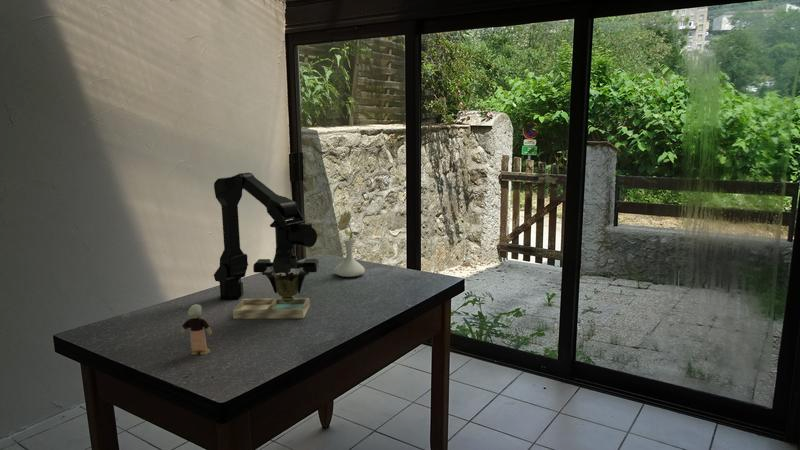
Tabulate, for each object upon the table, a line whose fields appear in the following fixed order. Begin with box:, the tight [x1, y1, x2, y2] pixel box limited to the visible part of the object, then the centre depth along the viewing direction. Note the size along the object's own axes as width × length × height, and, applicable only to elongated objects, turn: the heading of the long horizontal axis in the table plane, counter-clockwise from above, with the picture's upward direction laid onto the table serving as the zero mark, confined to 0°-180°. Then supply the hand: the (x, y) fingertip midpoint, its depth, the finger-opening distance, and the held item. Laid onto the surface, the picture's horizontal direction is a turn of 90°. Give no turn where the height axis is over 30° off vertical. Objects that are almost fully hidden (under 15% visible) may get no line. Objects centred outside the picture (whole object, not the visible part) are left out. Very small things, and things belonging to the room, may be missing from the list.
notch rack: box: [232, 297, 311, 320], centre depth 171 cm, size 21×11×2 cm, turn 90°
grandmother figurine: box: [180, 303, 213, 356], centre depth 141 cm, size 8×4×13 cm, turn 98°
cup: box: [274, 271, 299, 302], centre depth 170 cm, size 8×7×8 cm
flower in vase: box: [334, 210, 366, 278], centre depth 208 cm, size 13×11×25 cm
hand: (287, 293), depth 170 cm, fingers closed on cup, 7 cm apart
